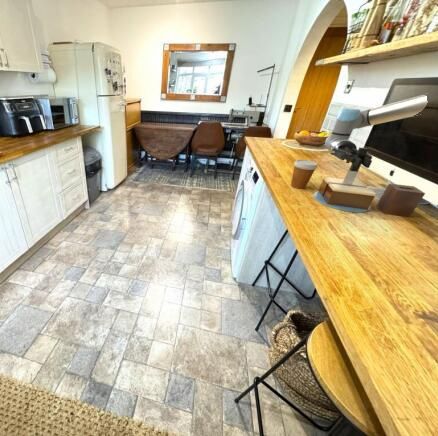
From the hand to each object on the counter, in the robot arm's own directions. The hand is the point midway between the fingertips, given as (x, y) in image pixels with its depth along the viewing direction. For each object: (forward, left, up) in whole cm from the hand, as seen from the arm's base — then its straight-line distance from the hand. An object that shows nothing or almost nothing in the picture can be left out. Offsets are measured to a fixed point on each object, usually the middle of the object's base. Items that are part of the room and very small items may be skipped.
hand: (364, 163), depth 89 cm
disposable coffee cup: (+22, +5, -18) cm, 29 cm away
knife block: (-5, -17, -18) cm, 25 cm away
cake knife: (+5, -2, -16) cm, 17 cm away
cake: (+5, -3, -18) cm, 19 cm away
